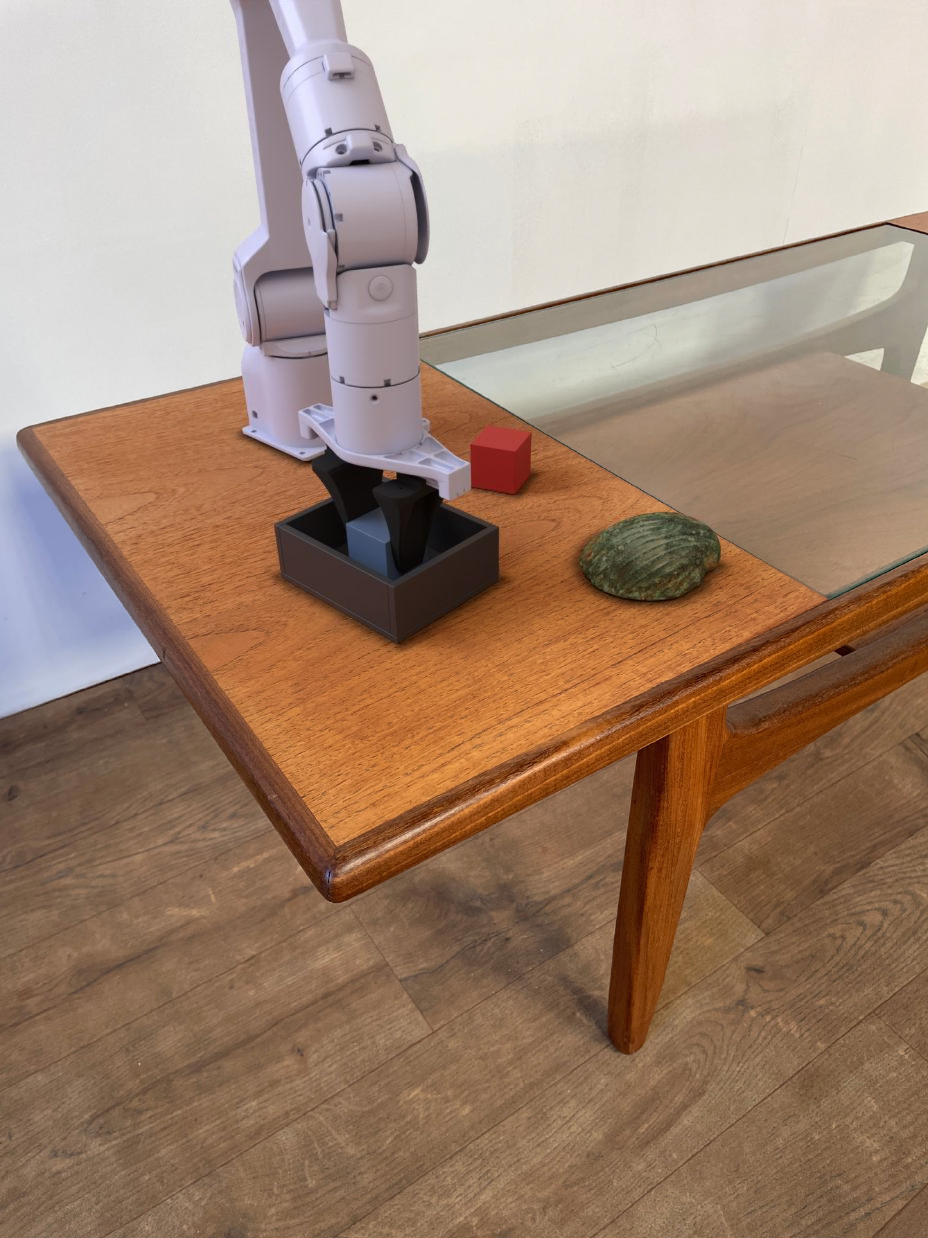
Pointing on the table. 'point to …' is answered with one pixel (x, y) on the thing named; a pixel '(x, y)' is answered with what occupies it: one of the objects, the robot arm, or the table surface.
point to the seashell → (651, 556)
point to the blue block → (374, 544)
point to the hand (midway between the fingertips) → (387, 554)
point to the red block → (500, 459)
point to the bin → (388, 607)
